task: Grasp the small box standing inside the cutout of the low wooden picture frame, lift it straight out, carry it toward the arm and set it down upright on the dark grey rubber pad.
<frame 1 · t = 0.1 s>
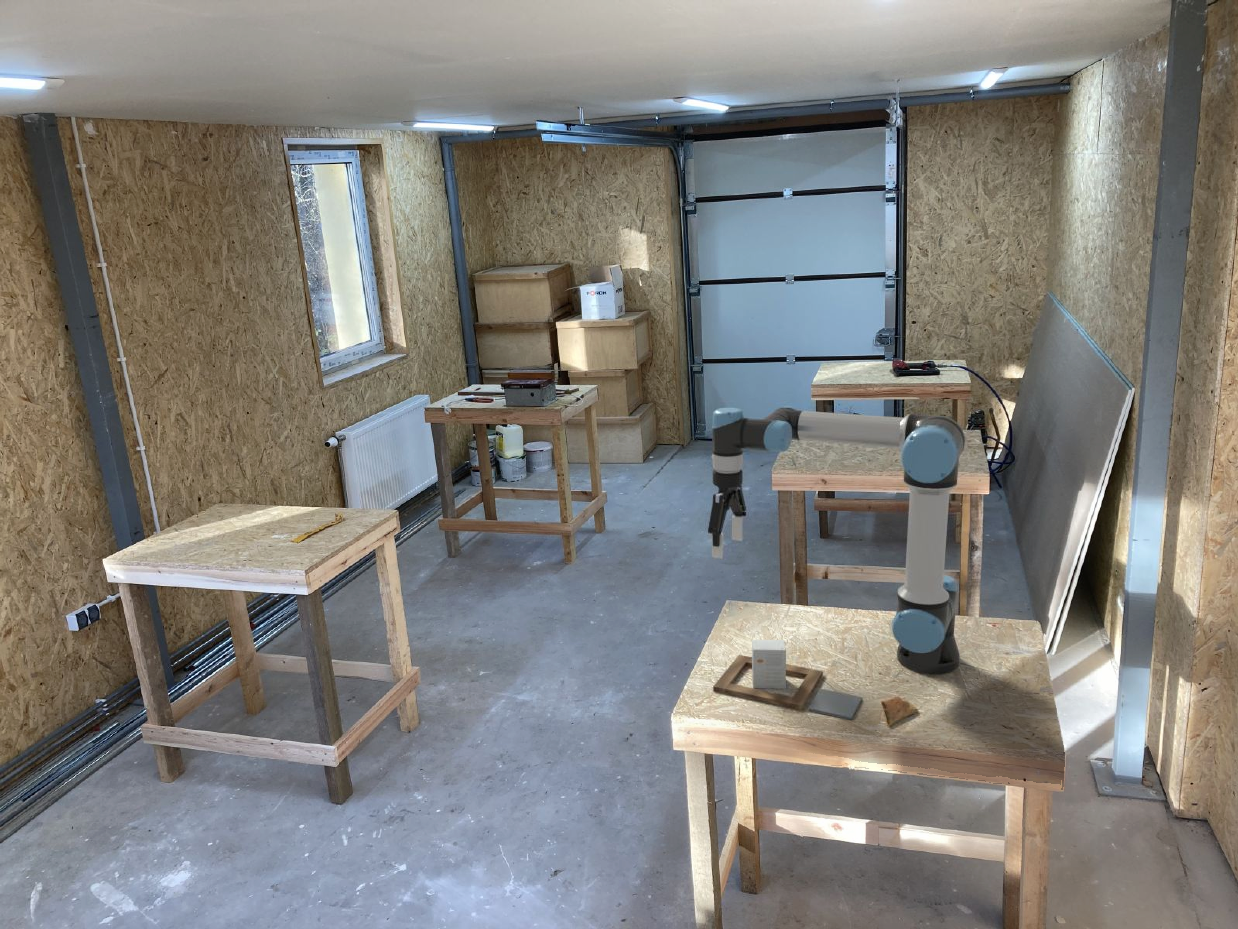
hand: (727, 548, 243), 28 cm above the table, fingers open, 13 cm apart
pad: (835, 705, 221), on the table
small box: (768, 684, 232), resting in wooden picture frame
wooden picture frame: (768, 683, 232), on the table
shard: (900, 717, 216), on the table
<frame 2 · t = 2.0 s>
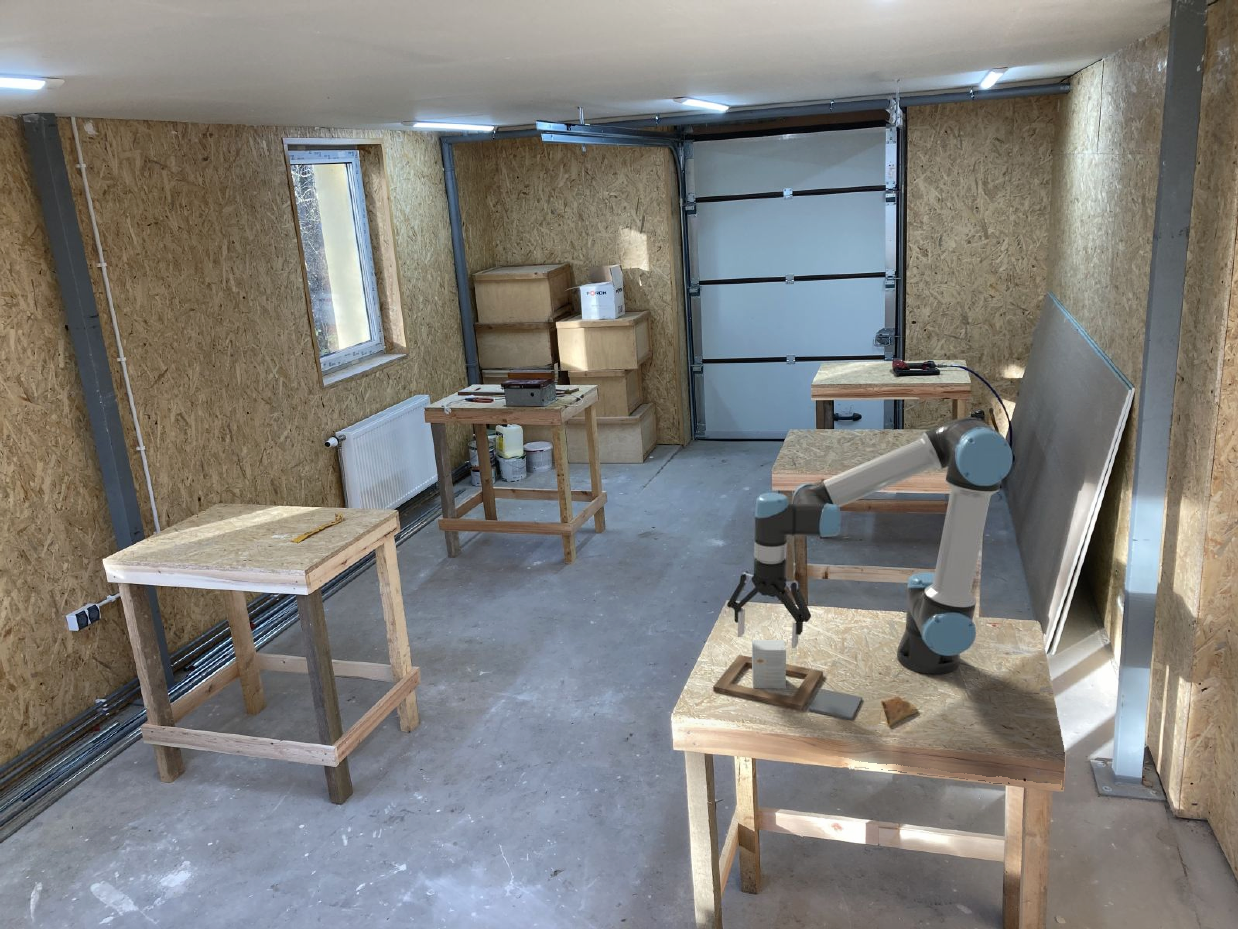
hand: (767, 640, 229), 12 cm above the table, fingers open, 13 cm apart
nothing on the table moved.
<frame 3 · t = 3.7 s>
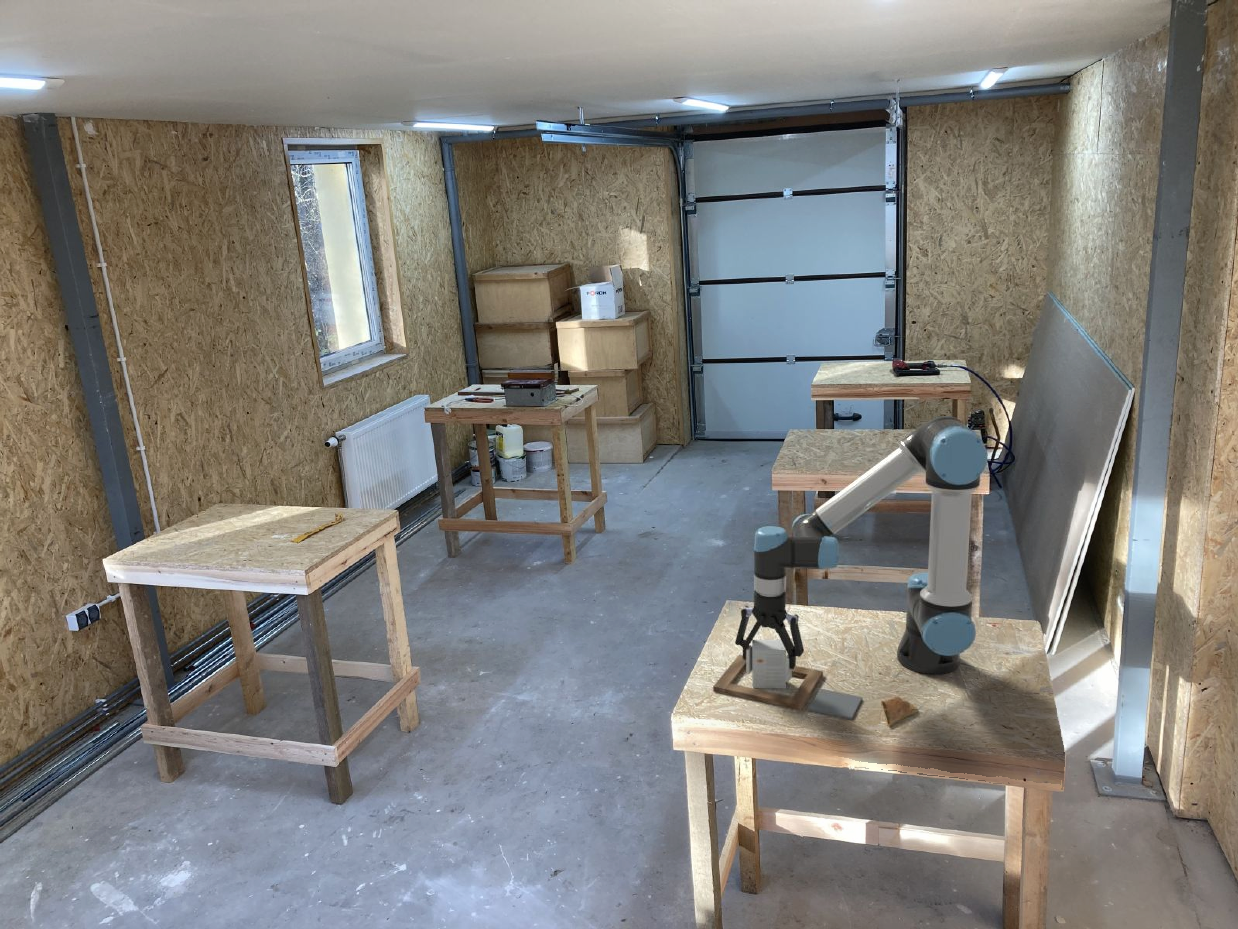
hand: (768, 675, 231), 2 cm above the table, fingers closed on small box, 9 cm apart
small box: (768, 684, 232), resting in wooden picture frame, touching gripper
everything else where it was.
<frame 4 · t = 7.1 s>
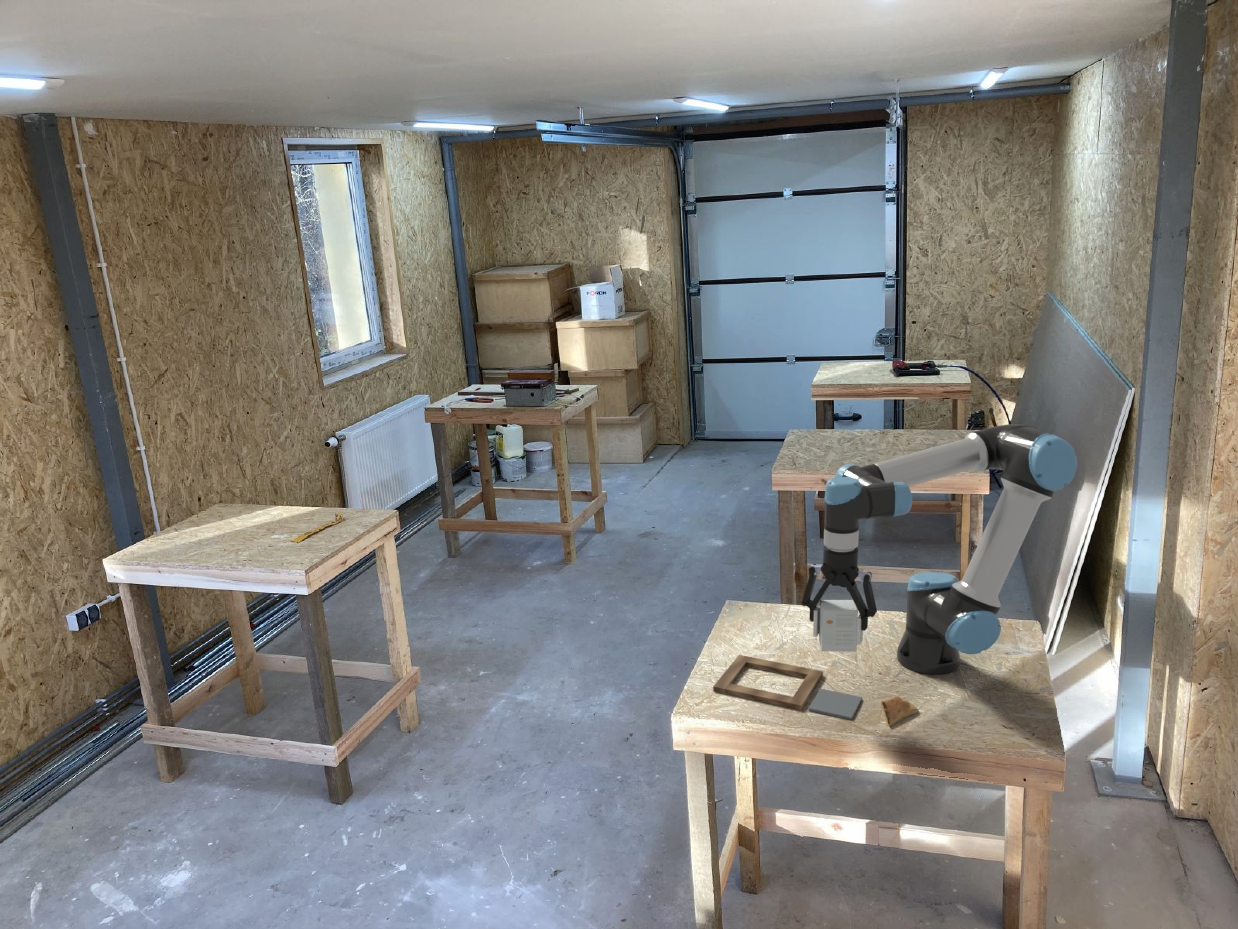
hand: (837, 638, 216), 17 cm above the table, fingers closed on small box, 9 cm apart
small box: (837, 647, 217), point 15 cm above the table, touching gripper
everything else where it was.
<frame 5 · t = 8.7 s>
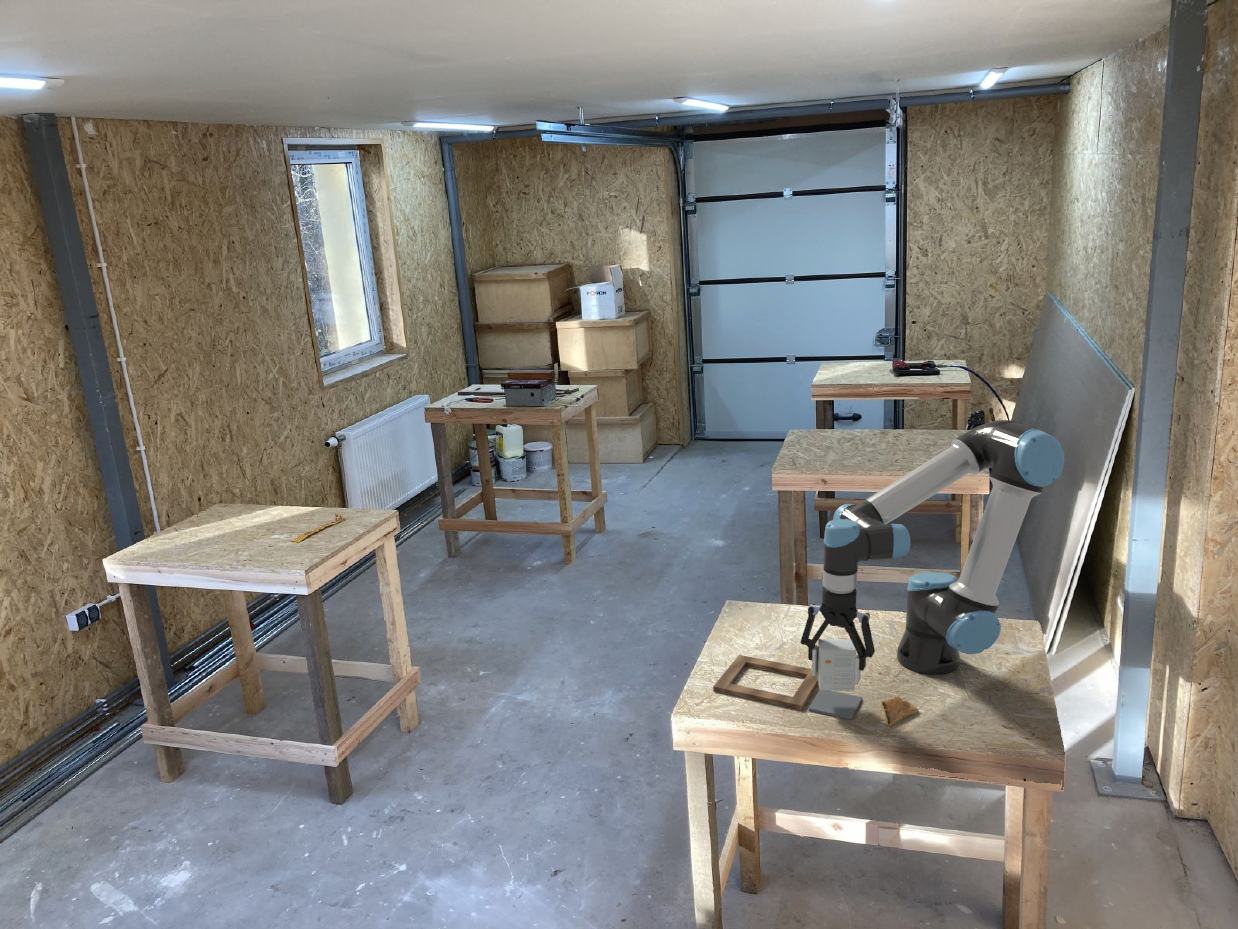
hand: (835, 677, 219), 7 cm above the table, fingers closed on small box, 9 cm apart
small box: (835, 686, 220), point 5 cm above the table, touching gripper
everything else where it was.
when the fingers open (3 cm above the table, at t = 10.4 s): small box stays where it is, resting on pad.
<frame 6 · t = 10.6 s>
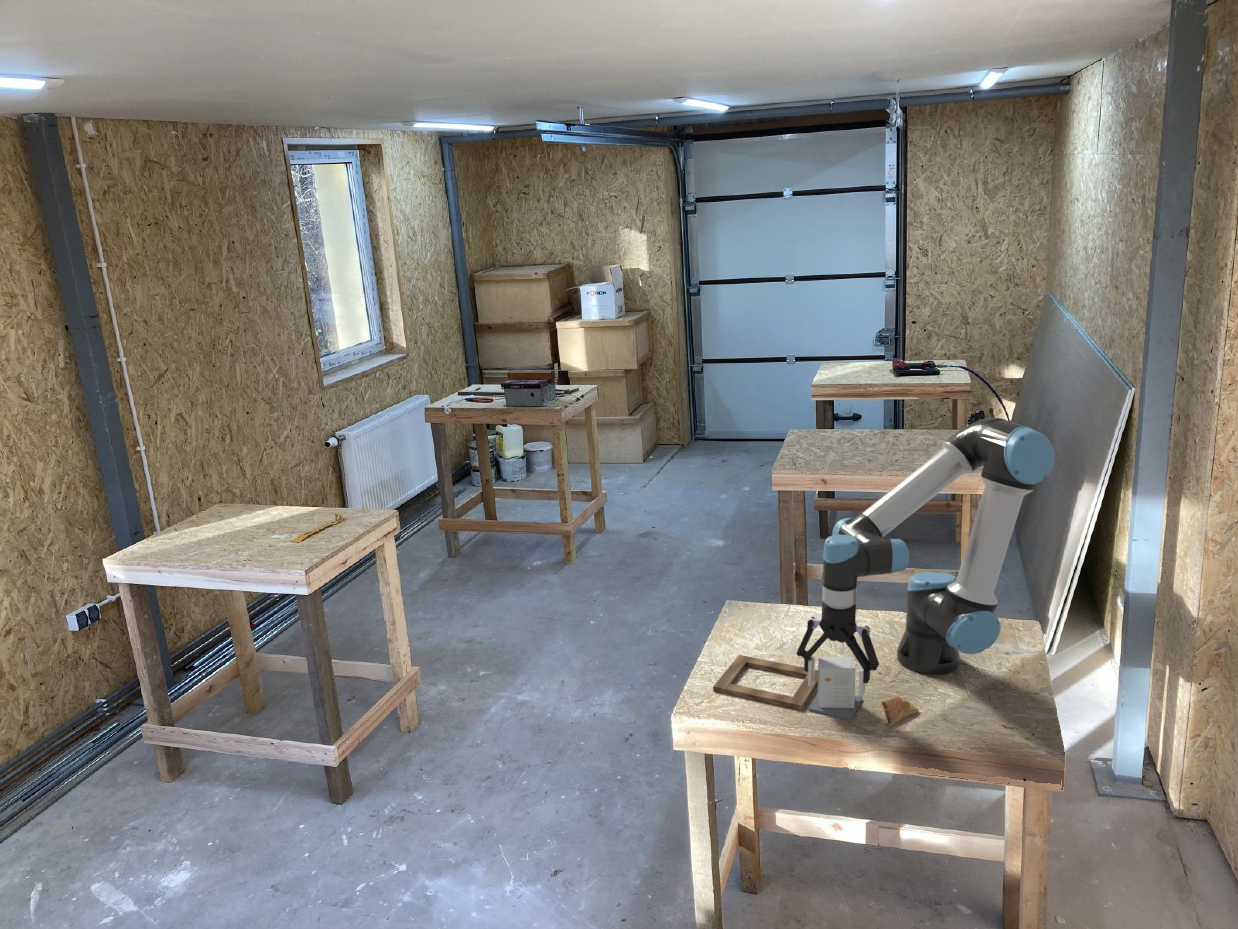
hand: (836, 689, 220), 4 cm above the table, fingers open, 11 cm apart
small box: (835, 703, 221), resting on pad
everything else where it was.
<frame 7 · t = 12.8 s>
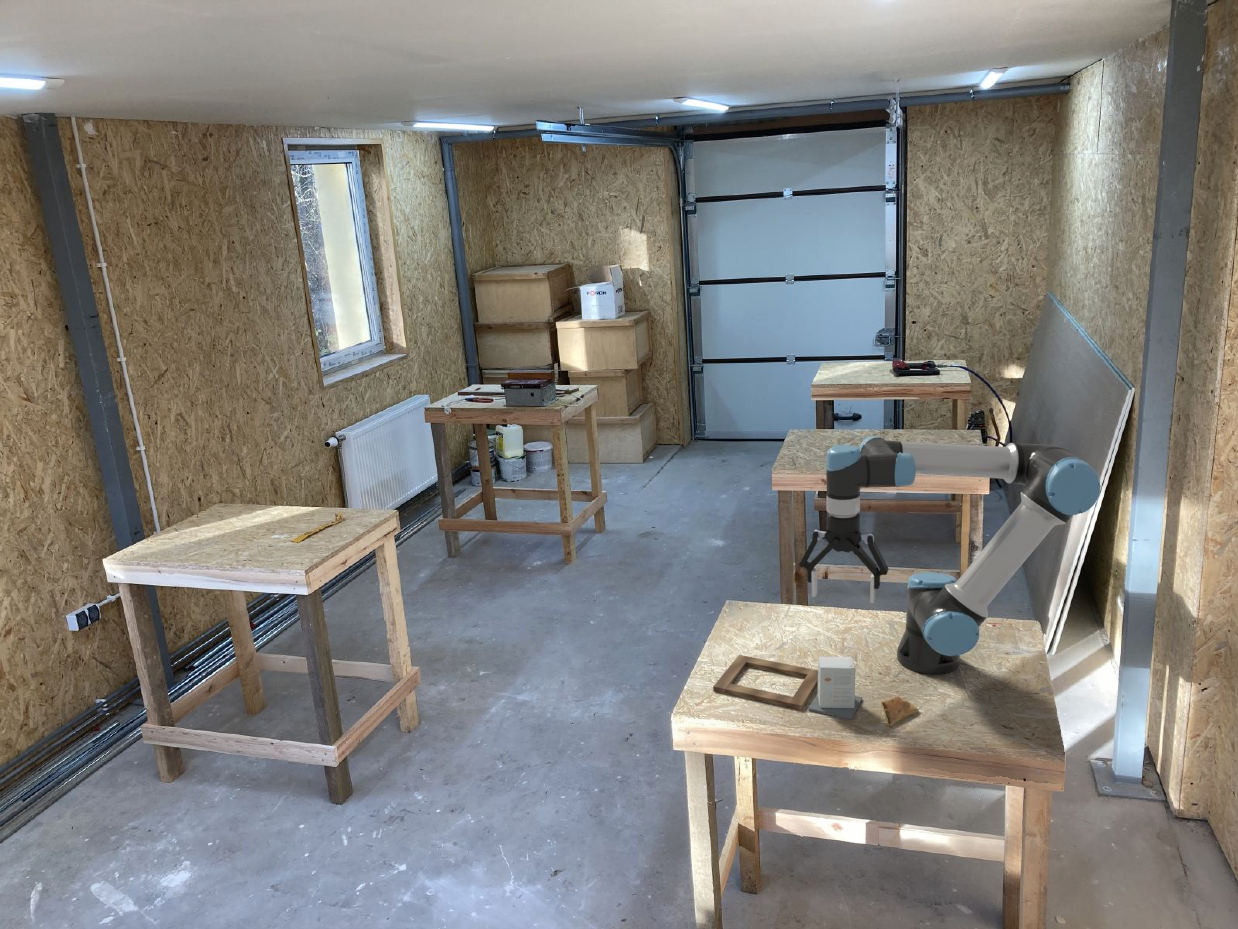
hand: (843, 598, 223), 23 cm above the table, fingers open, 13 cm apart
nothing on the table moved.
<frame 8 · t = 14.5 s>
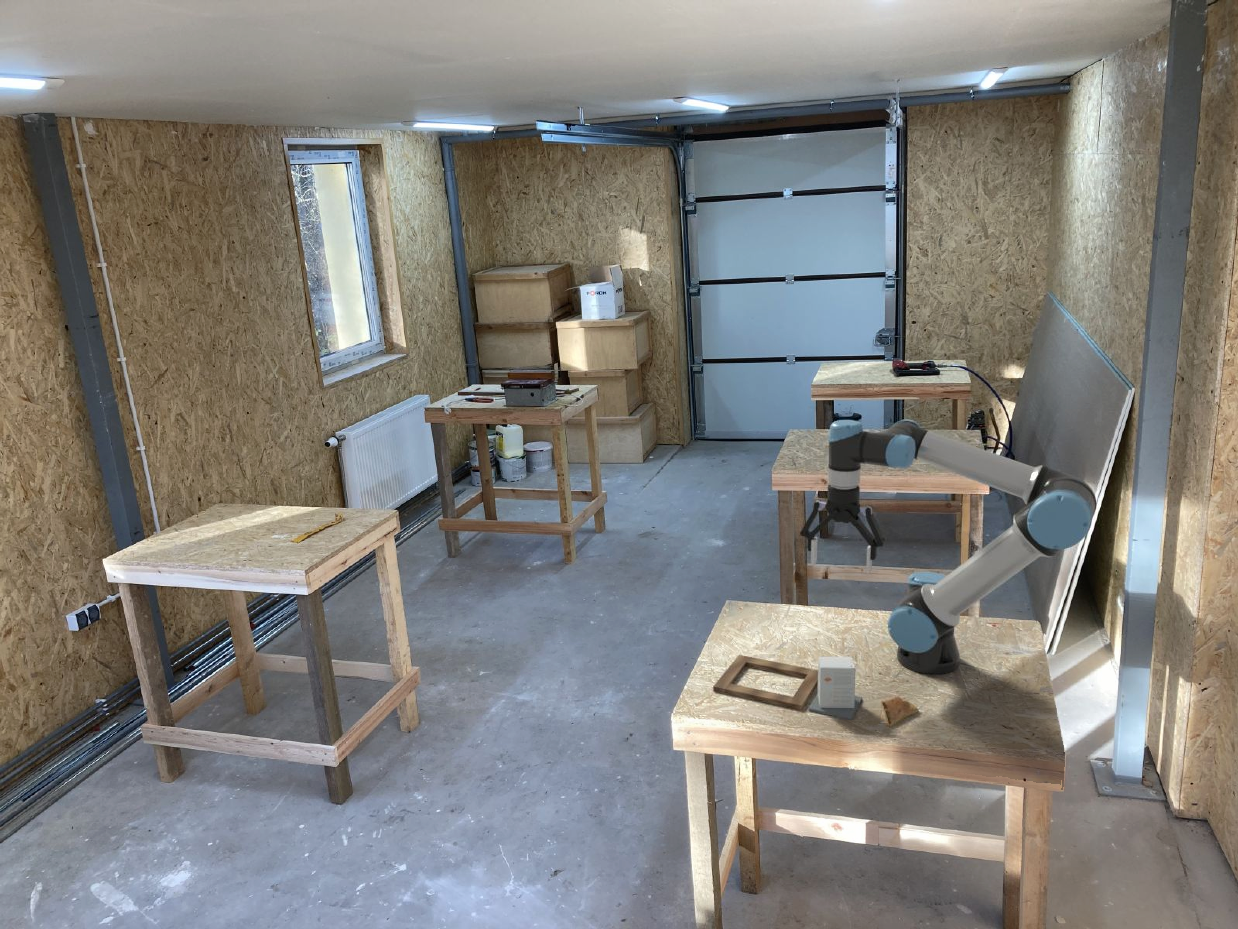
hand: (840, 567, 232), 27 cm above the table, fingers open, 13 cm apart
nothing on the table moved.
at the end: small box 0.0 cm from the pad (horizontally); small box tilted 0°; small box resting on pad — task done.
